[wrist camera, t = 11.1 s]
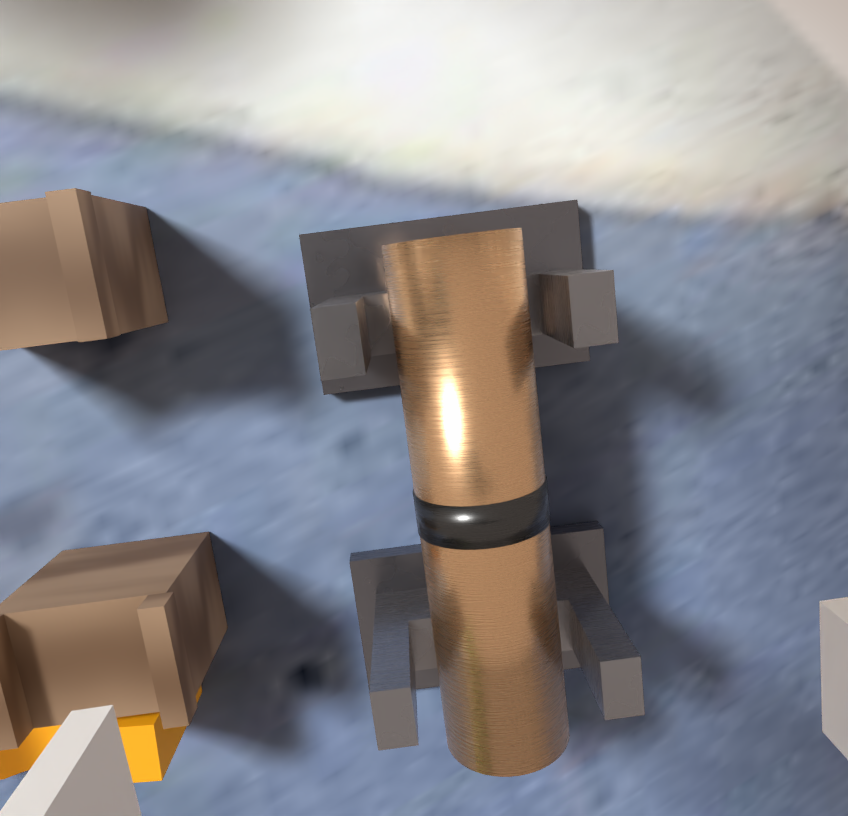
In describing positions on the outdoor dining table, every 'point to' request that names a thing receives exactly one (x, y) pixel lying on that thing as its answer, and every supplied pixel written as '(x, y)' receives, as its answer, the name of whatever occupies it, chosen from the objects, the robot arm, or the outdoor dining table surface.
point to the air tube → (480, 495)
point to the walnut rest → (109, 564)
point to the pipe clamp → (140, 738)
